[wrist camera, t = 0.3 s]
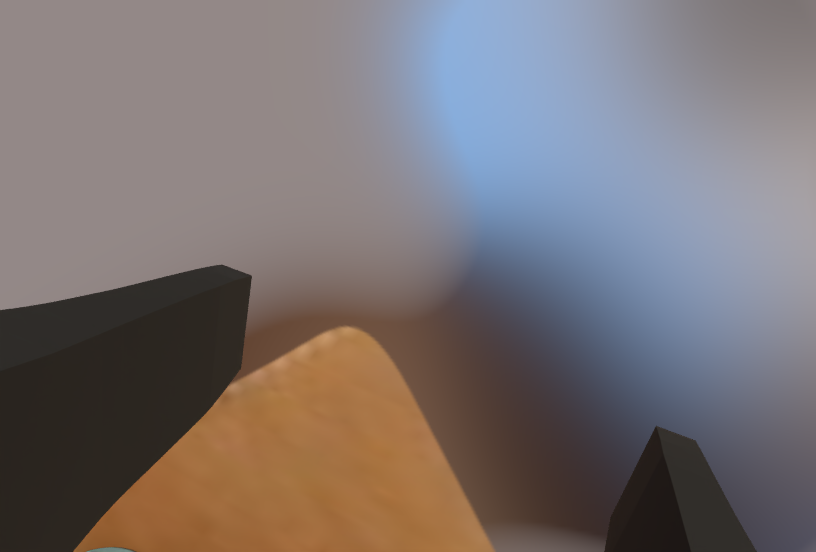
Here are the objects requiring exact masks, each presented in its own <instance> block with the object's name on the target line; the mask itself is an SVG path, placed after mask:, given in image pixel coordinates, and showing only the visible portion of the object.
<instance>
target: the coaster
mask: <svg viewBox="0 0 816 552" xmlns="http://www.w3.org/2000/svg"><path fill="white" fill-rule="evenodd" d="M87 552H136V551H133V550H130V549H126V548H118V547H109V548H99V549H94V550H90V551H87Z"/></svg>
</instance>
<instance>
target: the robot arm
mask: <svg viewBox="0 0 816 552" xmlns="http://www.w3.org/2000/svg"><path fill="white" fill-rule="evenodd" d="M251 279H252V276H251V275H249V274H246V273H243V272H240V271H238V270H235V269H232V268H230V267H227V266H224V265H216V266H210V267H205V268H201V269H195V270H191V271H187V272H183V273H179V274H175V275H171V276H166V277H162V278H158V279H154V280H150V281H147V282H142V283H138V284H134V285H130V286H126V287H122V288H118V289H113V290H109V291H104V292H100V293H94V294H90V295H85V296H80V297H75V298H71V299H66V300H61V301H56V302H51V303H46V304H40V305H34V306H28V307H21V308H14V309H6V310H0V552H73V551H74V549H75V548H76V547H77V546H78V545H79V544H80V542H81V541H82V540H83V539H84V538H85V536H86V535H87V534H88V533H89V532H90V530H91V529H92V528H93V527H94V526H95V524H96V523H97V522H98V521H99V520H100V518H101V517H102V516H103V515H104V514H105V513H106V512H107V511H108V510H109V509H110V508H111V507H112V505H113V504H114V503H115V502H116V501H117V500H118V499H119V498H120V497H121V496H122V495H123V494H124V493H125V492H126V491H127V490H128V489H129V488H130V487H131V486H132V485H133V484H134V483H135V482H136V481H137V480H138V479H139V478H140V477H141V476H142V475H144V474H145V473H146V472H147V471H148V470H149V469H150V468H151V467H152V466H153V465H154V464H155V463H156V462H157V461H158V460H159V459H160V458H161V457H162V456H163V455H164V454H165V453H166V452H167V451H168V450H169V449H170V448H171V447H172V446H173V445H174V444H175V443H176V442H177V441H178V440H179V439H180V438H181V437H183V436H184V435H185V434H186V433H187V432H188V431H189V430H190V429H191V428H192V427H193V426H194V425H195V424H196V423H197V422H198V421H199V420H200V419H201V418H202V417H203V416H204V415H205V414H206V412H207V411H208V410H209V409H210V408H211V407H212V406H213V404H214V403H215V402H216V401H217V399H218V398H219V397H220V396H221V394H222V393H223V392H224V390H225V389H226V388H227V386H228V385H229V384H230V382H231V381H232V380H233V378H234V377H235V376H236V374H237V373H238V371H239V370H240V369H241V364H242V355H243V346H244V337H245V329H246V320H247V312H248V304H249V296H250V287H251ZM605 552H757V551H756V550H755V548H754V546H753V545H752V543H751V541H750V539H749V538H748V536H747V534H746V533H745V531H744V529H743V527H742V526H741V524H740V522H739V521H738V519H737V517H736V515H735V513H734V511H733V510H732V508H731V506H730V504H729V502H728V500H727V499H726V497H725V495H724V493H723V491H722V489H721V487H720V485H719V484H718V482H717V480H716V478H715V476H714V474H713V472H712V471H711V469H710V467H709V465H708V463H707V461H706V459H705V457H704V455H703V453H702V452H701V450H700V448H699V446H698V445H697V443H696V441H695V440H693V439H690V438H687V437H685V436H682V435H679V434H676V433H674V432H671V431H668V430H666V429H663V428H660V427H657V426H656V427H655V429H654V431H653V433H652V435H651V438H650V439H649V441H648V443H647V445H646V447H645V450H644V452H643V453H642V455H641V457H640V459H639V462H638V463H637V465H636V467H635V470H634V471H633V474H632V476H631V477H630V480H629V482H628V484H627V486H626V488H625V490H624V492H623V494H622V496H621V498H620V500H619V502H618V504H617V506H616V508H615V510H614V512H613V514H612V516H611V519H610V524H609V530H608V535H607V540H606V546H605Z"/></svg>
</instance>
